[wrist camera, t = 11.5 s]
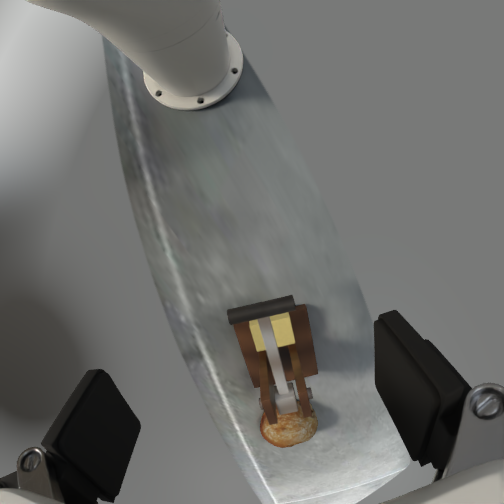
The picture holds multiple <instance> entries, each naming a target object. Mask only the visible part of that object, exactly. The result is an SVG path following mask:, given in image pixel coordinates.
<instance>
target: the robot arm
mask: <svg viewBox="0 0 504 504" xmlns="http://www.w3.org/2000/svg"><path fill="white" fill-rule="evenodd" d="M26 1H28V2H30V3H33V4H35V5H38V6H41V7H44V8H47V9H50V10H54V11H57V12H60V13H64V14H67V15H69V16H72V17H75V18H77V19H79V20H81V21H83V22H84V23H86V24H88V25H89V26H91V27H92V28H94V29H95V30H96V31H98V32H99V33H100V34H102V35H103V36H104V37H105V38H107V39H108V40H109V41H110V42H111V43H112V44H113V45H115V46H116V47H117V48H118V49H119V50H120V51H121V52H123V53H124V54H125V55H126V56H127V57H128V58H129V59H131V60H132V61H133V62H134V63H135V64H136V65H137V66H138V67H140V68H141V69H142V70H143V73H144V81H145V84H146V87H147V89H148V91H149V92H150V94H151V95H152V96H153V97H154V98H155V99H156V100H157V101H159V102H160V103H161V104H163V105H165V106H167V107H169V108H173V109H177V110H186V111H188V110H198V109H202V108H206V107H208V106H210V105H213V104H215V103H217V102H218V101H220V100H221V99H223V98H224V97H225V96H227V95H228V94H229V93H230V92H231V91H232V89H233V88H234V87H235V86H236V84H237V82H238V81H239V79H240V77H241V73H242V70H243V54H242V51H241V47H240V45H239V44H238V42H237V40H236V39H235V38H234V37H233V36H232V35H231V34H230V33H229V32H227V31H226V30H225V26H224V20H223V14H222V9H221V3H220V0H26ZM233 72H237V74H233ZM161 93H162V95H161V96H159V95H160V94H161ZM200 101H204V103H203V104H200ZM374 344H375V385H376V388H377V391H378V393H379V394H380V396H381V398H382V400H383V402H384V404H385V406H386V408H387V410H388V412H389V414H390V416H391V418H392V420H393V422H394V424H395V426H396V428H397V430H398V432H399V434H400V436H401V438H402V440H403V442H404V444H405V446H406V448H407V450H408V452H409V455H410V457H411V459H412V460H413V461H417V460H418V461H419V463H420V465H421V467H422V466H424V465H426V464H428V463H430V462H431V463H432V465H433V467H434V468H435V469H437V470H436V472H435V475H434V478H433V480H432V483H431V484H429V485H427V486H425V487H422V488H419V489H417V490H414V491H412V492H409V493H407V494H405V495H402V496H399V497H396V498H394V499H392V500H388V501H386V502H383V503H380V504H504V387H503V386H501V385H499V384H495V383H484V384H481V385H478V386H476V387H474V388H473V389H472V388H471V387H470V386H469V384H468V383H467V382H466V381H465V380H464V379H463V377H462V376H461V375H460V374H459V373H458V372H457V370H456V369H455V368H454V367H453V366H452V365H451V364H450V363H449V362H448V360H447V359H446V358H445V357H444V356H443V355H442V354H441V352H440V351H439V350H438V349H437V348H436V347H435V346H434V345H433V344H432V343H431V342H430V341H429V340H426V339H425V340H424V339H423V338H422V337H421V336H420V335H419V334H418V333H417V332H416V331H415V330H414V328H413V327H412V326H411V325H410V324H409V323H408V322H407V321H406V320H405V319H404V318H403V317H402V316H401V315H400V313H398V311H396V310H393V311H390V312H387V313H383V314H380V315H379V317H378V320H376V321H374ZM140 429H141V425H140V421H139V420H138V418H137V417H136V416H135V414H134V413H133V411H132V410H131V408H130V407H129V405H128V404H127V402H126V401H125V399H124V398H123V396H122V395H121V393H120V392H119V390H118V388H117V387H116V385H115V384H114V382H113V380H112V379H111V377H110V376H109V374H108V373H106V372H105V371H104V370H102V369H96V370H88V371H87V372H86V374H85V375H84V377H83V378H82V380H81V381H80V383H79V384H78V386H77V387H76V388H75V390H74V392H73V393H72V395H71V396H70V398H69V399H68V401H67V402H66V404H65V405H64V407H63V408H62V410H61V411H60V413H59V415H58V416H57V418H56V419H55V421H54V423H53V424H52V426H51V427H50V429H49V431H48V432H47V434H46V435H45V437H44V439H43V440H42V442H41V445H42V446H43V447H44V448H45V449H46V450H47V451H46V453H44V452H43V451H42V450H41V448H38V447H31V448H28V449H26V450H25V451H24V452H22V453H21V455H20V456H19V458H18V461H17V471H16V472H13V473H11V474H9V475H7V476H5V477H2V478H0V504H98V502H97V498H100V499H101V500H102V501H107V502H112V503H114V500H115V497H116V496H117V495H118V494H119V492H120V488H121V485H122V482H123V479H124V476H125V473H126V470H127V467H128V464H129V461H130V458H131V455H132V452H133V449H134V446H135V444H136V441H137V438H138V435H139V432H140Z"/></svg>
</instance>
